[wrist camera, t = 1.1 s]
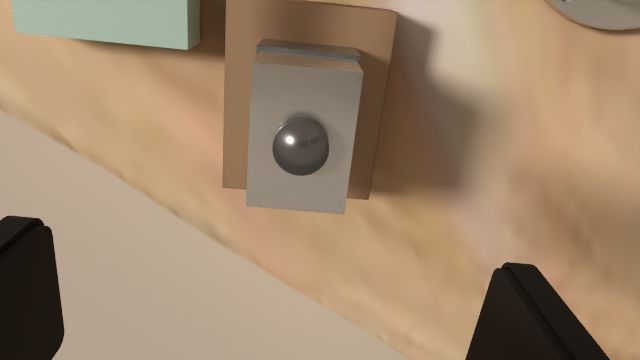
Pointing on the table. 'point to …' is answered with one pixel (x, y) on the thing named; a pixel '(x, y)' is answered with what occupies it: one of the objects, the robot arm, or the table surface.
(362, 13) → the stand walnut
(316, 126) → the block
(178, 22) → the stand teal
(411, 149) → the table surface
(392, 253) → the table surface
